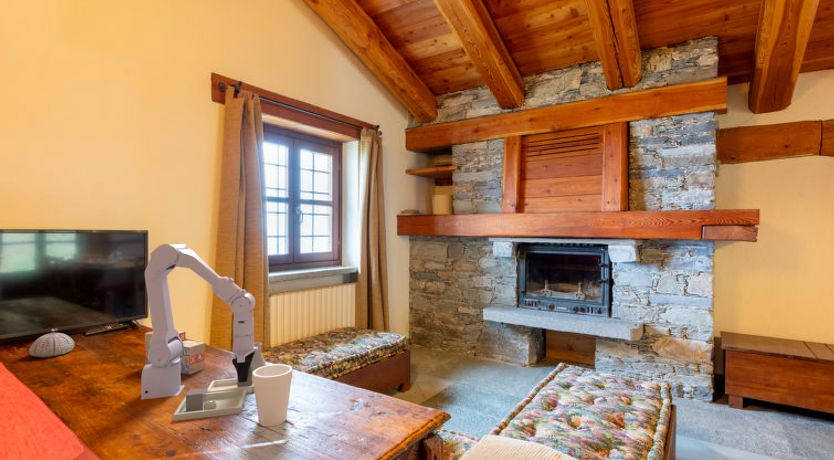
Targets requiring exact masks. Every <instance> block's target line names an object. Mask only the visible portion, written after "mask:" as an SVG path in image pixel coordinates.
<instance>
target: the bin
mask: <svg viewBox="0 0 834 460" xmlns="http://www.w3.org/2000/svg"><path fill="white" fill-rule="evenodd" d="M246 398H247V393H246V389H242V390H232V391H222V392H213V393H206V402H207V401H209V400H213V401H215V402H216V409H210V410H204V409H203V410H201V411H192V412H186V395H185V397H184V398H183V399H182V401H181V403H180V404H179V406H178V407H177V409H176V410H175V412H174V413H173V417H172V418H173V422H177V421H186V420H193V419H202V418H210V417H211V418H213V417H219V416H220V417H221V416H229V415H235V414H237V415H238V414H242V411H243V409H244V408H243V407H244V404H245V401H246Z"/></svg>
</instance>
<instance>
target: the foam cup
mask: <svg viewBox="0 0 834 460" xmlns="http://www.w3.org/2000/svg"><path fill="white" fill-rule="evenodd" d="M292 380H293V367H292V366H291V365H290V364H289V365H287V364H285V363H284V364H282V363H279V364H278V363H277V364H276V363H274V364H268V365H267V364H266V366H263V367H259V368H257V369H256V370H254V371H253V373H252V383H253V385H254V392H253V393H254V397H255V404H256V412H257V419H258V423H259V424H260V426H263V427H275V426H279V425H281V424H283V423H285V421H287V416H288V409H289V399H290V393H291V386H292V385H291V384H292Z"/></svg>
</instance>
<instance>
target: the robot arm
mask: <svg viewBox="0 0 834 460" xmlns="http://www.w3.org/2000/svg"><path fill="white" fill-rule="evenodd" d="M149 255H150V256H149V257H150V258H149V261H148V263H147V266H146V268H145V270H144V280H145V286H146V293H147V299H148V300H147V301H148V307H149V314H150V315H149V316H150V320H151V328H152V331H153V335H152V337H151V339H150V342H149V345H150V348H149V351H148V355H147V357H148V360H149V362H150V363H151V364H149V365H146V364H145V365H144V367H143V368H142V371H141V384H140V385H141V387H140V388H141V390H140V391H141V392H140V393H141V397H140V400H147V399H150V400H151V399H160V398H167V397H177V396H179V395H180V393H181V392H182V391H183V389H184V388H185V387H186V386H185V384H182V383H181V382H182V381H181V380H182V378H181V374H182V373H181V369H180V354H181V353H182V351H183V349H184V344H183V342H182V340H181V339H180V337H179V333H178V331H179V330H177V329H176V328H175V326H174V325H175V324H174V317H173V311H172V306H171V305H172V304H171V298H170V289H169V283H168V282H169V281H168V275H169V274H170V273H171V272H173V270H174V269H175V268H184V269H185V268H186V269H189V270H191V271H192V272H193V273H195V274H197V275H198V276H199V277H200V278H202V279H203V280H204V281H206V282H207V283H209V284H210V285H211V292H212V293H214V294H215V295H216V296H217V297H219V298H220V299H221V300H222V301H223V302H225V303H226V304H227V305H229V306H230V310H231V312H232V313H233V319H232V320H233V322H232V323H233V348H232V354H234V356H235V358H232V360H231V363H232V365H233V366H234V369H235V371H236V375H237V376H238V380H239V382H247V379H248V373H249V367H250V366H251V362H252V360H253V356H254V354H255V351H257V350H258V347H254V343H255V318H254V314H255V313H254V312H255V311H254V308H255V306H256V303H257V302H256V301H257V300H256V298H255V295H253V294H252V293H251V292H247V290H246V289H245V288H244V289H242V288H241V287H240V286H238V284H236V283H235V282H234V281H235V279H234V278H232V277H228V276H221V275H219V274H218V273H217V272H216V271H215V270H214V269H213V268H211V266H209V265H208V264H207V263H206V262H205V261H204V260H202V258H201V257H199V255H197V253H196V252H195V251H194V250H193V249H190V248H189V247H188V246H187V245H186V244H184V243H182V242H181V243H180V242H175V243H171V244H168V243H164V244H160V245H158V246H157V247H156V248H155V249H154V250H153V251H151V252H150V253H149ZM181 384H182V385H181Z"/></svg>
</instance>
